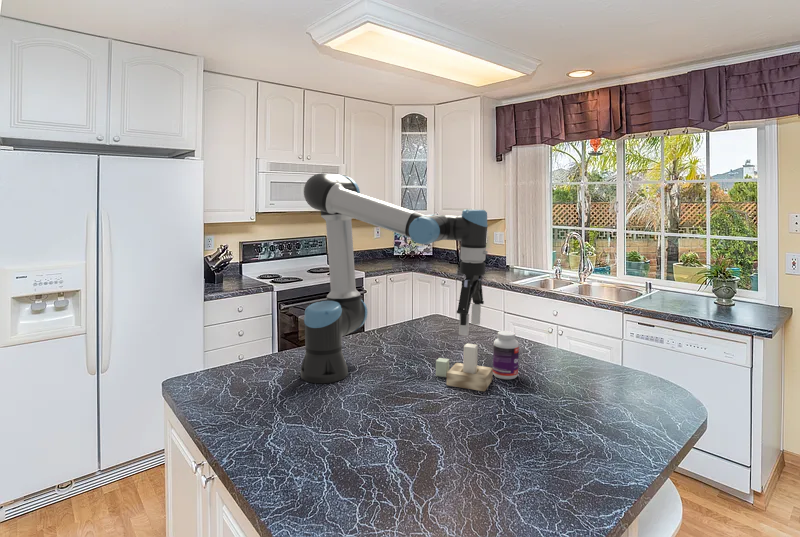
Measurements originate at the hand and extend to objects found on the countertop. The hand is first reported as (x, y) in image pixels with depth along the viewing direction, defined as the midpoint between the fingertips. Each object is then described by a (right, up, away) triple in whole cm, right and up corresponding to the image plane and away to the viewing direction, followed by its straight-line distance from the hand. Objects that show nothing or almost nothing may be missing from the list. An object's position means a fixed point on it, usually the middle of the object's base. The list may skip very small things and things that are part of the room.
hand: (469, 329), depth 148 cm
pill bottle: (+13, -16, +8) cm, 22 cm away
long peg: (0, -17, +2) cm, 17 cm away
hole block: (0, -17, +2) cm, 17 cm away
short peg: (-8, -16, +9) cm, 20 cm away
